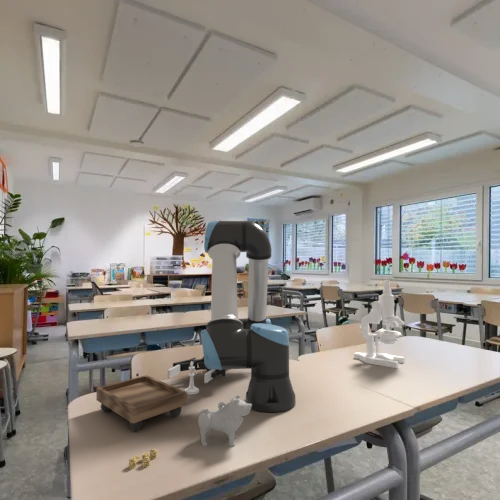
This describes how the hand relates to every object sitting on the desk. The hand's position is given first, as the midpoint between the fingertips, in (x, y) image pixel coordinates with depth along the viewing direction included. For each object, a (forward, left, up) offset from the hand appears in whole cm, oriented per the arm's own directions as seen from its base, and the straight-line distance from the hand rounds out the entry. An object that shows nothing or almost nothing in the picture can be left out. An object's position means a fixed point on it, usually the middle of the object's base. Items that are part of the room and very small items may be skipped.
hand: (186, 376), depth 113 cm
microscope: (-29, -79, -6) cm, 84 cm away
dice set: (-25, +29, -7) cm, 39 cm away
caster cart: (-2, +17, -6) cm, 18 cm away
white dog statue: (-31, +11, -6) cm, 33 cm away
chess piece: (+1, -3, -6) cm, 7 cm away
